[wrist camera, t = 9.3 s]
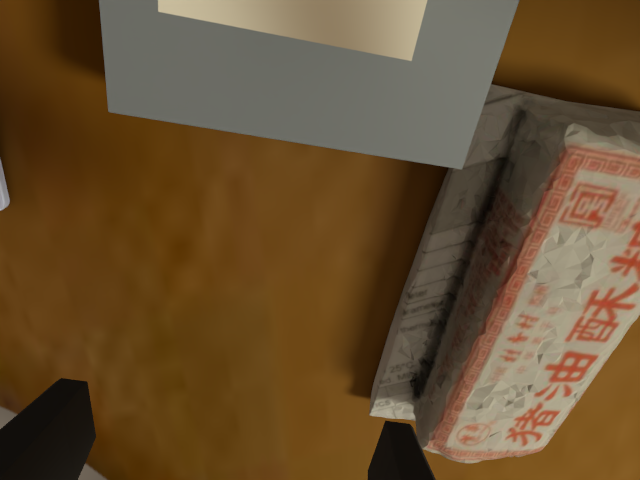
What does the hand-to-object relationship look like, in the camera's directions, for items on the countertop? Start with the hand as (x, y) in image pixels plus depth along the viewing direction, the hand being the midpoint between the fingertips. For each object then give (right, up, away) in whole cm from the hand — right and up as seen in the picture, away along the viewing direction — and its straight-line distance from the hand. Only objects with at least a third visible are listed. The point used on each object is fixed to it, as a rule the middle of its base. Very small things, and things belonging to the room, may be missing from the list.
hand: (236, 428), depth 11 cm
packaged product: (+11, +3, +11) cm, 16 cm away
